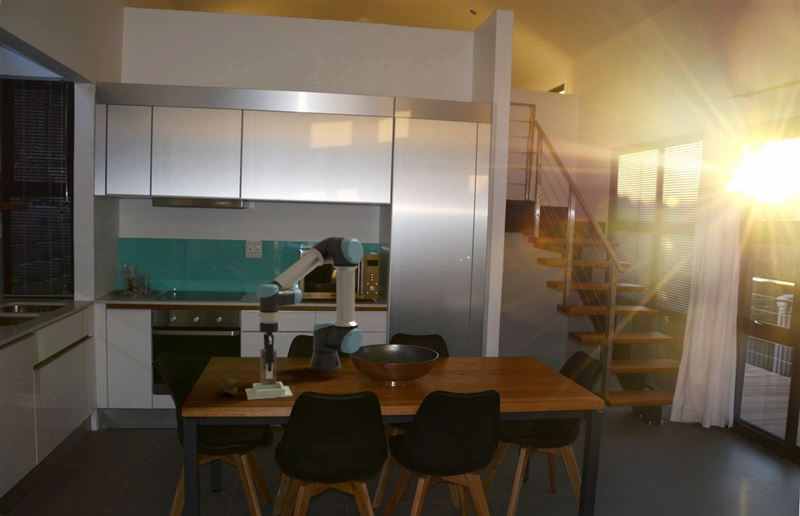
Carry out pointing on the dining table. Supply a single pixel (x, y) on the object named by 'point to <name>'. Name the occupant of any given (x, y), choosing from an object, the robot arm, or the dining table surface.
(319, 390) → the dining table surface
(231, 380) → the fruit
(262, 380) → the wooden square post
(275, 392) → the holder plate
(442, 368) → the dining table surface
